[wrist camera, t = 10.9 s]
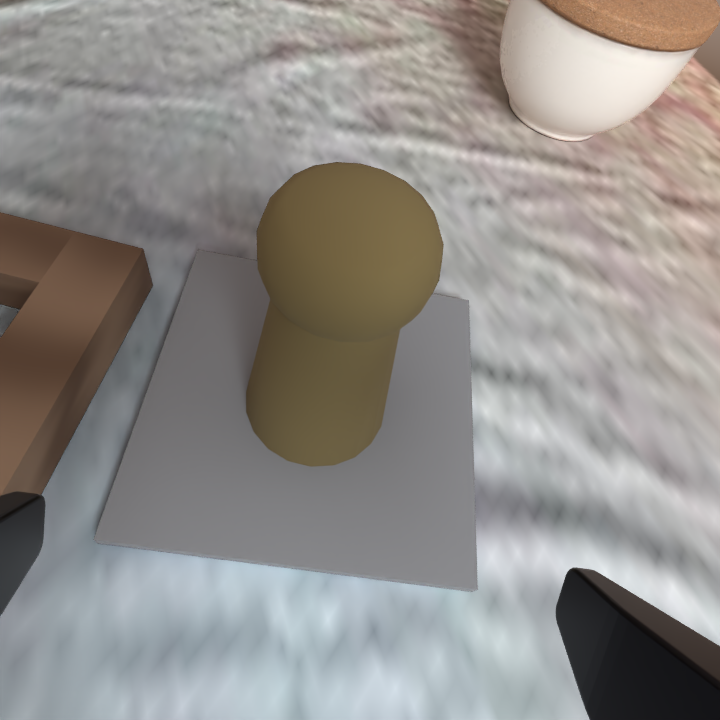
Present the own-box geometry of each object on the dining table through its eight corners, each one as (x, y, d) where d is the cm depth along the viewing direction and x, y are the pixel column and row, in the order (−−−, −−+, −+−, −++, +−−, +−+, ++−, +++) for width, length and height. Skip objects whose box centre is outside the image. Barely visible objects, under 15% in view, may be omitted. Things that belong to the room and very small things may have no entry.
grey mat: (471, 591, 20) (477, 589, 19) (97, 543, 18) (93, 539, 18) (464, 307, 27) (468, 300, 27) (198, 257, 26) (197, 249, 25)
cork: (234, 351, 23) (220, 130, 13) (363, 333, 24) (429, 126, 15) (259, 481, 20) (263, 314, 11) (402, 450, 22) (513, 284, 12)
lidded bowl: (559, 186, 34) (673, 6, 25) (441, 82, 39) (500, -106, 29) (661, 140, 40) (785, -21, 30) (547, 53, 44) (626, -113, 35)
